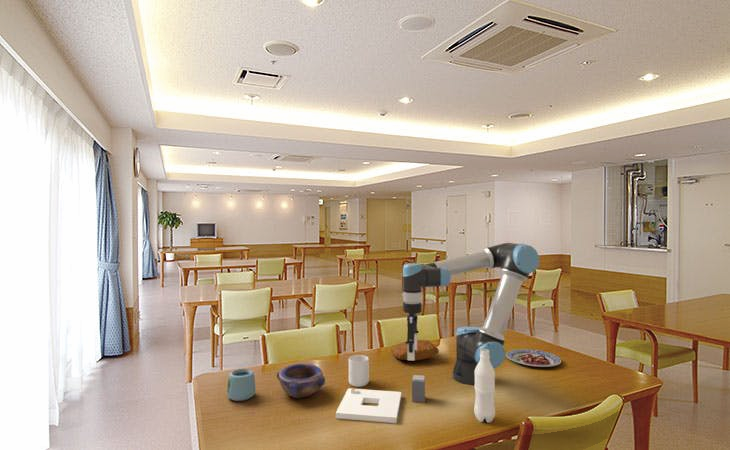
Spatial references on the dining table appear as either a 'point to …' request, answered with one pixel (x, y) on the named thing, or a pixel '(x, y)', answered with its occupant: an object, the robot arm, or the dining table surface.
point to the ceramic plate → (533, 358)
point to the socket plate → (383, 412)
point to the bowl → (301, 379)
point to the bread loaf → (422, 352)
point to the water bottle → (484, 388)
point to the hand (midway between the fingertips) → (412, 354)
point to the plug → (418, 388)
